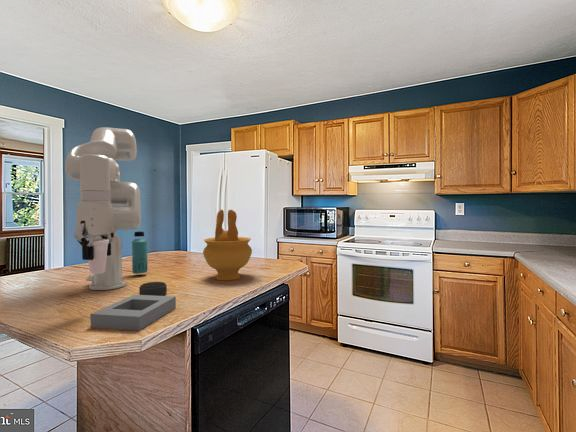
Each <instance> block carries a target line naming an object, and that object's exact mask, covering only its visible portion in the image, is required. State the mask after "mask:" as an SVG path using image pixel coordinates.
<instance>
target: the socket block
mask: <svg viewBox="0 0 576 432" xmlns="http://www.w3.org/2000/svg"><path fill="white" fill-rule="evenodd" d="M176 301H177V299H176V296H171V295H170V296H169V295H163V296H153V295H140V294H132V295H130V296H128V297H126V298H123V299H121V300H118V301H117V302H114V303H112V304H109V305H107V306H105V307H103V308H100V309H98V310H96V311H93V312H91V313H89V314H90V315H89V316H90V318H89V319H90V322H89V323H90V328H97V329H112V330H113V329H114V330H129V331H141V330H143V329H144V327H145V328H146V327H148V326H149V325H151V324H152V323H154V322H155V321H157V320H159V319H161V318H162V317H163V316H165V315H166V314H168V313H170V312H172V311H173V310H174V309H176V307H177V304H176V303H177V302H176Z"/></svg>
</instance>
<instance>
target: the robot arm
mask: <svg viewBox="0 0 576 432" xmlns="http://www.w3.org/2000/svg"><path fill="white" fill-rule="evenodd" d="M137 153H138V149H137V140H136V136H135V134H134V132H133V131H131V130H130V129H127V128H115V127H109V126H108V127H107V126H106V127H105V126H104V127H97V128H95V129H94V131H93V132H92V134H91V137H90V140H89V141H87V142H84V143H81V144H80V145H77V146H74V147H73V148H71V149H70V151H69V152H68V153H67V154H68V155H67V157H66V159H65V164H64V168H65V174H66V176H67V177H68V178H69V179H70V180H71V181H80V182H79V183H80V201H78V205H77V207H76V208H77V209H76V216H75V231H74V233H73V234H72V235H73V237H74V239H76V241H77V242H78V243H79V246H80V247H81V256H82V260H83V261H88V260H93V259H94V247H93V246H91V245H92V242H93V239H94V236H96V239H108V240H109V243H108V249H107V257H106V266H105V272H104V273H99V274H90V275H88V277H86V279H85V280H86V282H91V284H89V289H90V290H91V291H108V290H115V289H119V288H123V287H125V286H126V285H128V284H127V281H126V280H124V279H123V263H122V262H123V261H122V260H123V259H122V258H123V257H122V256H123V252H122V240H121V238H120V236H118V234H117V233H116V232H117V231H121V230H122V231H123V230H124V231H126V230H128V231H129V230H137V229H138V228H139V227H140V226H141V223H142V222H141V221H142V209H141V207H142V206H141V205H142V204H141V203H142V202H141V190H140V187H139V185H138V184H137V183H135V182H131V181H121V173H120V165H119V163H117V161H121V162H122V161H123V162H133V161H134V160H135V159H136V158H137ZM87 240H88V241H87Z"/></svg>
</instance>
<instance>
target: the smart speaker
mask: <svg viewBox="0 0 576 432" xmlns="http://www.w3.org/2000/svg"><path fill="white" fill-rule="evenodd" d="M167 289H168V287H167V284H166V283H165V282H162V281H151V282H145V283H143V284H141V285H140V286H139V289H138V291H139V292H138V293H139V294H138V295H153V296H166V294H167V291H168V290H167Z"/></svg>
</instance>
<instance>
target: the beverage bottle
mask: <svg viewBox="0 0 576 432" xmlns="http://www.w3.org/2000/svg"><path fill="white" fill-rule="evenodd" d="M133 236H134V237H137V238H135V239H133V240H132V241H131V252H132V253H131V260H132V261H131V262H132V263H131V266H132V267H131V268H132V269H131V270H132V274H134V275H135V274H136V275H138V274H139V275H140V274H147V273H148V268H149V267H148V263H149V261H148V244H147V243H148V241H147V240H146V238H138V237H145V232H144V231H135V232H134V234H133Z"/></svg>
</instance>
